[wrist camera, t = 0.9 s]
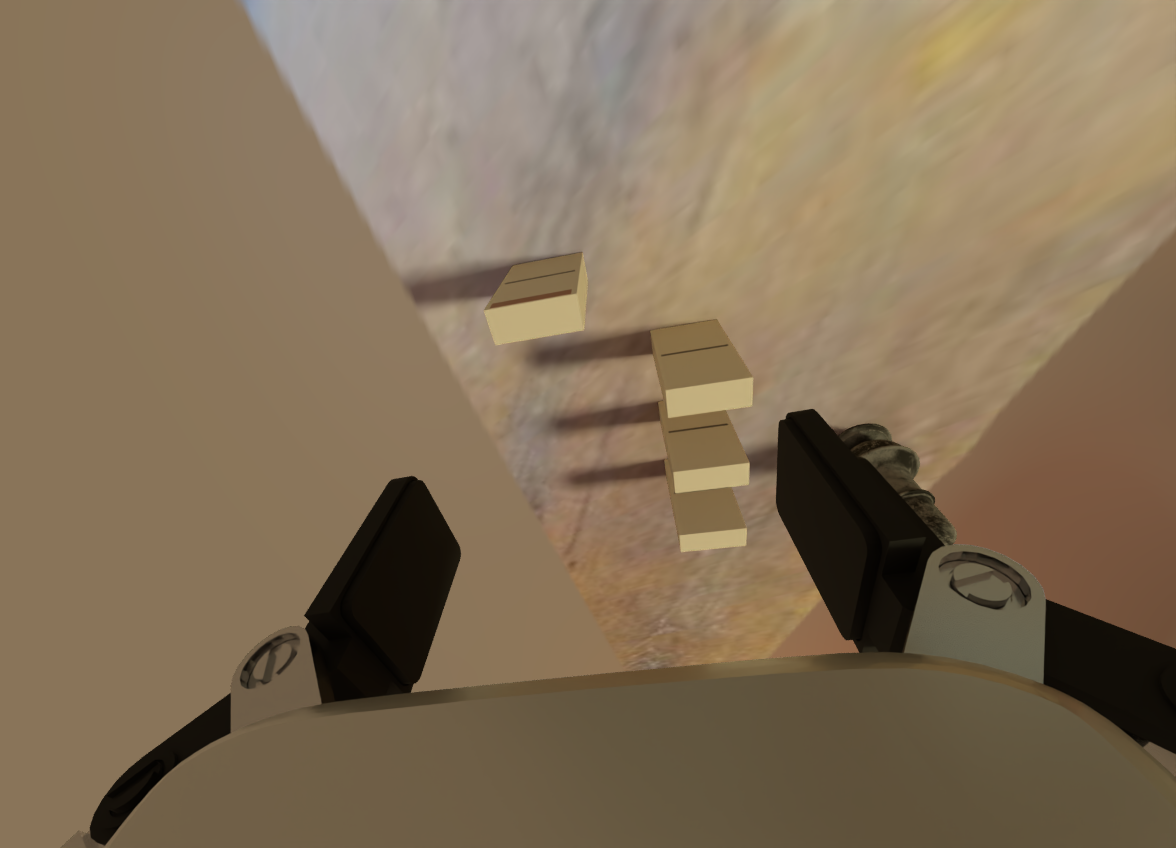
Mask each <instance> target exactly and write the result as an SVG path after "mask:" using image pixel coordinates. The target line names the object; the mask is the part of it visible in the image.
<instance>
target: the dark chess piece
mask: <svg viewBox="0 0 1176 848" xmlns="http://www.w3.org/2000/svg"><path fill="white" fill-rule="evenodd" d="M838 437H839V438H840V439H841V440H842V441H843V442H844V443H845V445H846V446H847V447H848V448H849V449H850V450H851V451H852V453H853V454H854V455H855V456H856V457H863V458H866V459H867V460H868V461H869V462H870V463H871V464H872V465H873V466H874V467H875V468H876V469H877V470H878V472H879V473H880V474H881V475H882V476H883V477H884V478H885V479H886V480H887V482H888V483H889V484H890V485H891V486H892V487H893V488H894V489H895V490H896V492H897V493H898V494H899V495H900V496H901V497H902V498H903V499H904V500H905V502H906V503H907V504H908V505H909V506H910V507H911V508H912V509H913V510H914V511H915V513H916V514H917V515H918V516H919V517H920V518H921V519H922V520H923V521H924V523H925V524H926V525H927V526H928V527H929V528H930V529H931V530H932V531H933V533H934V534H935V535H936V536H937V537H938V538H939V539H940V540H941V541H942V543H943V544H944V545H945V546H949V545H953V543H954V542H955V540H956V536H957V535H956V534H957V533H956V530H955V528H954V527H953V525H952V524H951V523H950V522H949V521H948V520H947V519H946V518H945V516H944V515H943V514H942V513H941V512H940V511H939V510H938V508H937V507H936V506H935V505H934V503H935V497H934V496H933V494H932V493H930V492H929V491H926V490H922V489H921V488H920V487H919V486H918V485H917V483H916V482H915V481H914V480H913V479H914V477H915V476H916V474H917V472H918V469H919V466H920V461H919V457H918V456H917V454H916V453H915V452H914V451H913V450H911V449H910V448H908V447H904V446H901V445H900V444H897V443H895V442H892V437H891V434H890V432H889V431H888V430H887V429H886V428H885V427H883V426H881V425H877V424H862V425H858V426H855V427H852V428H850V429H848V430H846V431H844V432H843V433H841V434H840V435H839V436H838Z"/></svg>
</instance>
